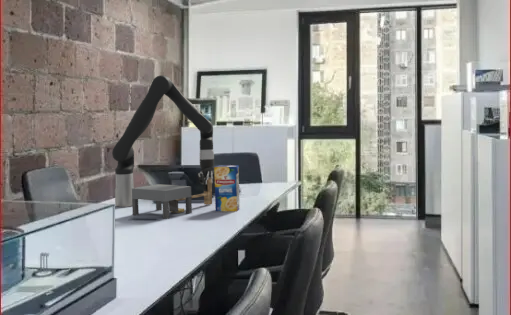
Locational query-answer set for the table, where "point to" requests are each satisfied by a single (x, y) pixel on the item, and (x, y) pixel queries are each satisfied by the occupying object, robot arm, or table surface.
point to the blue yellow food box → (227, 188)
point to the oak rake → (207, 197)
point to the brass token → (179, 210)
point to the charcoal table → (161, 197)
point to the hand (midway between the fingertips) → (207, 190)
